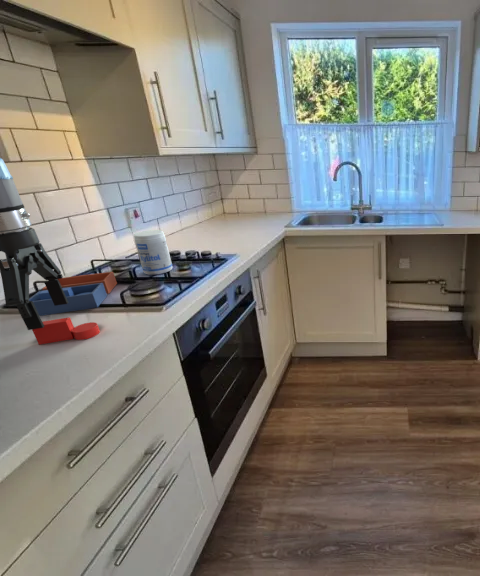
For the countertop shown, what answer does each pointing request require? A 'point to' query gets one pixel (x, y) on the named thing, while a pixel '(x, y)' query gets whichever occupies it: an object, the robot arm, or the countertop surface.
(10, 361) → the countertop surface
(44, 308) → the blue bin
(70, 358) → the countertop surface
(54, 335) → the red spoon
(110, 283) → the red bin
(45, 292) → the blue spoon
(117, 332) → the countertop surface
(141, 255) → the supplement tub
